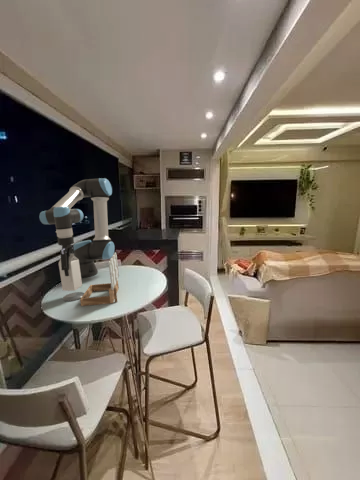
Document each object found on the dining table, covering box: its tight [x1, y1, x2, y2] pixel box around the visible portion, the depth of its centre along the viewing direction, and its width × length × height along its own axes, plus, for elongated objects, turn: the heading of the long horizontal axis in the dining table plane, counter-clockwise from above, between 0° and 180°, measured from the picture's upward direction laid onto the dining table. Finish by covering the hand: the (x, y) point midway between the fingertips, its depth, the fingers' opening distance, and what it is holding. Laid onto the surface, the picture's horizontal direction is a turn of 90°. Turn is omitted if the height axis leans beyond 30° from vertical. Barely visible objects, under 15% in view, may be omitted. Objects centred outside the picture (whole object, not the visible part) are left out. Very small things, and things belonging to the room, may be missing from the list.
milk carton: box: [58, 254, 83, 292], centre depth 136 cm, size 7×7×19 cm
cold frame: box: [79, 252, 120, 307], centre depth 135 cm, size 20×17×21 cm
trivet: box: [62, 291, 85, 302], centre depth 138 cm, size 11×11×1 cm
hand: (71, 278), depth 136 cm, fingers closed on milk carton, 8 cm apart
